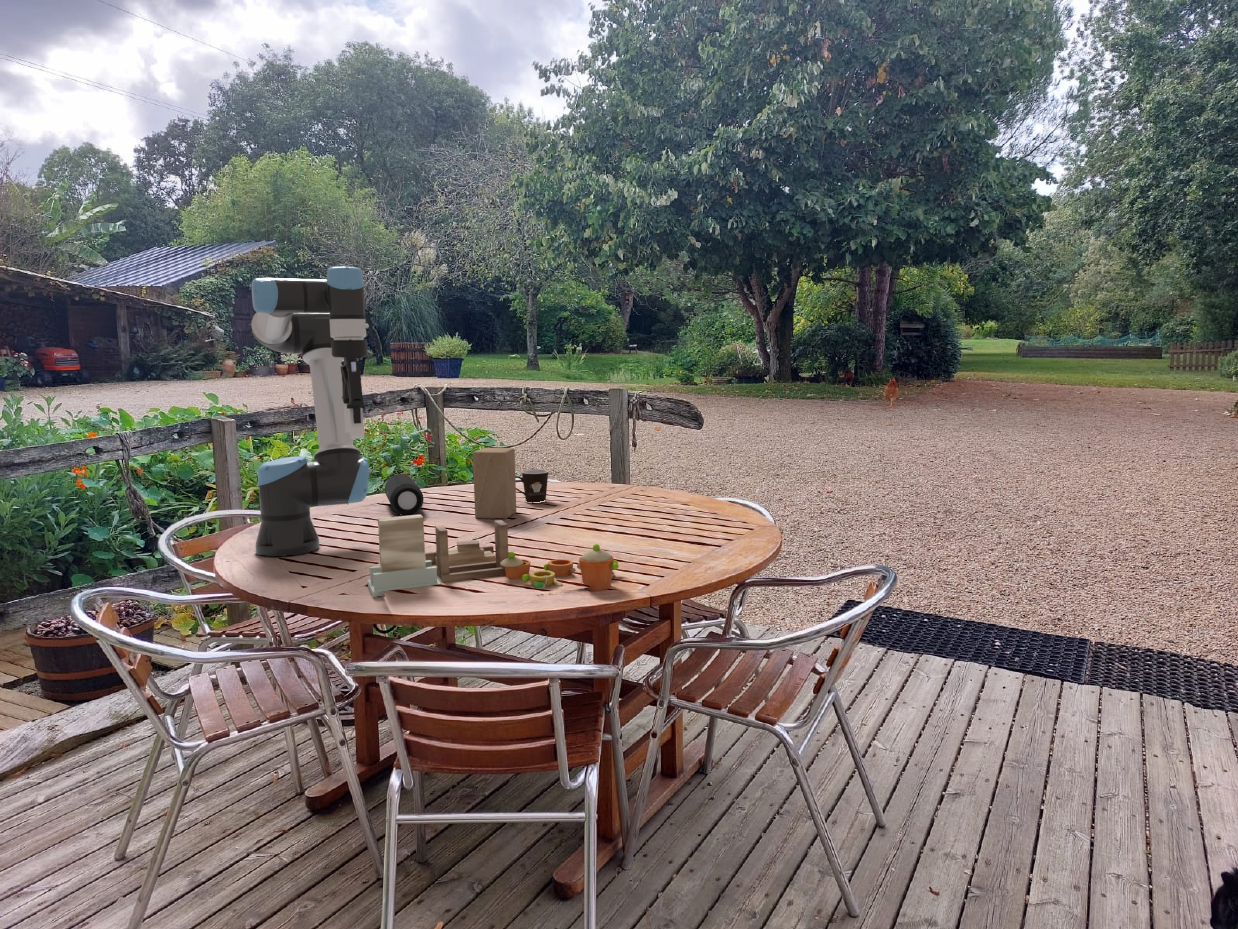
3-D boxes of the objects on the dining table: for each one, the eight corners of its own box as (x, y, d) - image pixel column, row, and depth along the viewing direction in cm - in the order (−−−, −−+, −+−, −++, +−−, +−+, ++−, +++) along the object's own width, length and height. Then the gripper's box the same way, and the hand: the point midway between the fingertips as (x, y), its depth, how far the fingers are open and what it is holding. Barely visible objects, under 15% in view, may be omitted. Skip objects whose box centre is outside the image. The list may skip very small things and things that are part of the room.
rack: (425, 567, 194) (423, 516, 193) (492, 560, 200) (491, 510, 199) (440, 587, 178) (437, 532, 177) (512, 578, 185) (511, 525, 183)
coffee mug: (552, 499, 275) (551, 470, 274) (544, 504, 267) (543, 474, 266) (519, 498, 278) (518, 469, 277) (510, 503, 270) (509, 473, 268)
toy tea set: (615, 572, 191) (615, 530, 189) (626, 592, 175) (626, 547, 174) (500, 578, 187) (499, 535, 185) (501, 598, 172) (499, 553, 170)
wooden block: (516, 512, 256) (515, 447, 253) (506, 519, 246) (504, 452, 243) (485, 511, 258) (483, 447, 255) (474, 518, 248) (472, 451, 245)
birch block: (381, 582, 179) (377, 518, 177) (423, 577, 182) (420, 514, 180) (383, 586, 176) (379, 521, 174) (426, 581, 179) (423, 517, 177)
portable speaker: (384, 503, 273) (383, 473, 272) (415, 501, 276) (414, 471, 275) (391, 519, 249) (390, 486, 248) (425, 516, 253) (424, 483, 251)
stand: (367, 585, 181) (366, 565, 181) (432, 577, 187) (431, 558, 186) (373, 597, 172) (372, 577, 171) (441, 589, 178) (440, 569, 177)
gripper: (373, 338, 173) (379, 440, 177) (360, 339, 196) (365, 428, 199) (335, 339, 171) (341, 442, 174) (326, 339, 193) (332, 430, 196)
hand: (354, 435), depth 187 cm, fingers open, 13 cm apart
